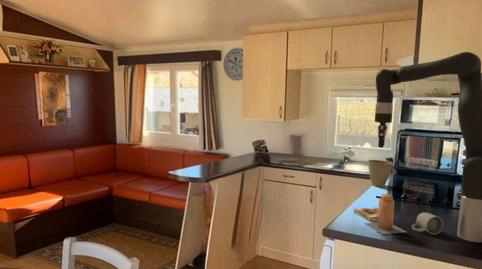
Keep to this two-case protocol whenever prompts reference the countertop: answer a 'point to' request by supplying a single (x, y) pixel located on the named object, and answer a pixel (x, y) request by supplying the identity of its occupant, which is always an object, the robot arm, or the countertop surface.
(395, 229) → the mat
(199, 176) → the countertop surface
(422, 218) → the ceramic mug
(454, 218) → the countertop surface
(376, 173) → the plant pot
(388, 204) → the peach capped cylinder
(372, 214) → the holder
